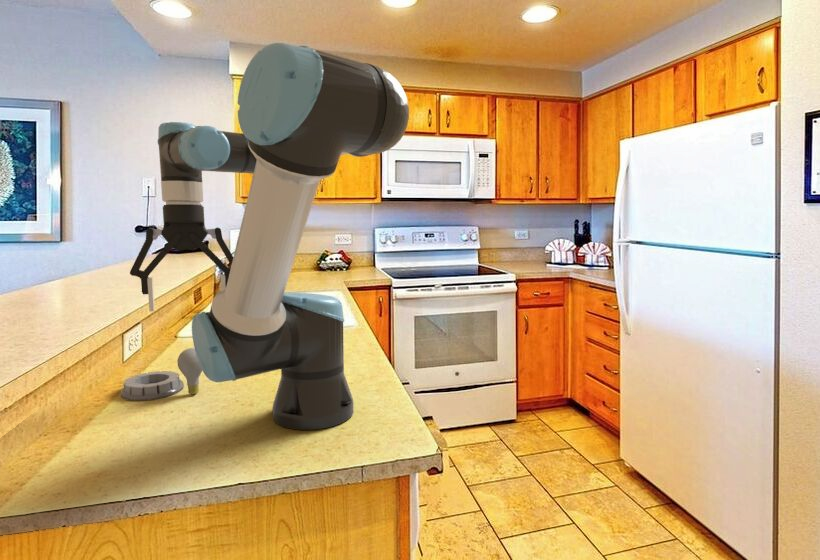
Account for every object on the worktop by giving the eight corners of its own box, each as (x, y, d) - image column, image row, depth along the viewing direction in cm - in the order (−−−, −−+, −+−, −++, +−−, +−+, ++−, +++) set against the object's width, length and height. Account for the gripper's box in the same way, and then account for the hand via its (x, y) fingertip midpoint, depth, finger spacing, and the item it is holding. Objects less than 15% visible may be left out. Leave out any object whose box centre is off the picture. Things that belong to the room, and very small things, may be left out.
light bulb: (199, 388, 108) (197, 343, 107) (212, 393, 105) (210, 348, 103) (174, 395, 104) (171, 348, 103) (187, 401, 100) (184, 353, 99)
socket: (183, 395, 103) (182, 383, 103) (117, 404, 99) (116, 392, 98) (183, 378, 114) (183, 367, 114) (124, 385, 110) (123, 374, 109)
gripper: (246, 204, 108) (250, 300, 110) (114, 203, 98) (122, 308, 100) (250, 204, 101) (254, 306, 104) (108, 202, 91) (117, 315, 94)
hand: (189, 307), depth 102 cm, fingers open, 13 cm apart
